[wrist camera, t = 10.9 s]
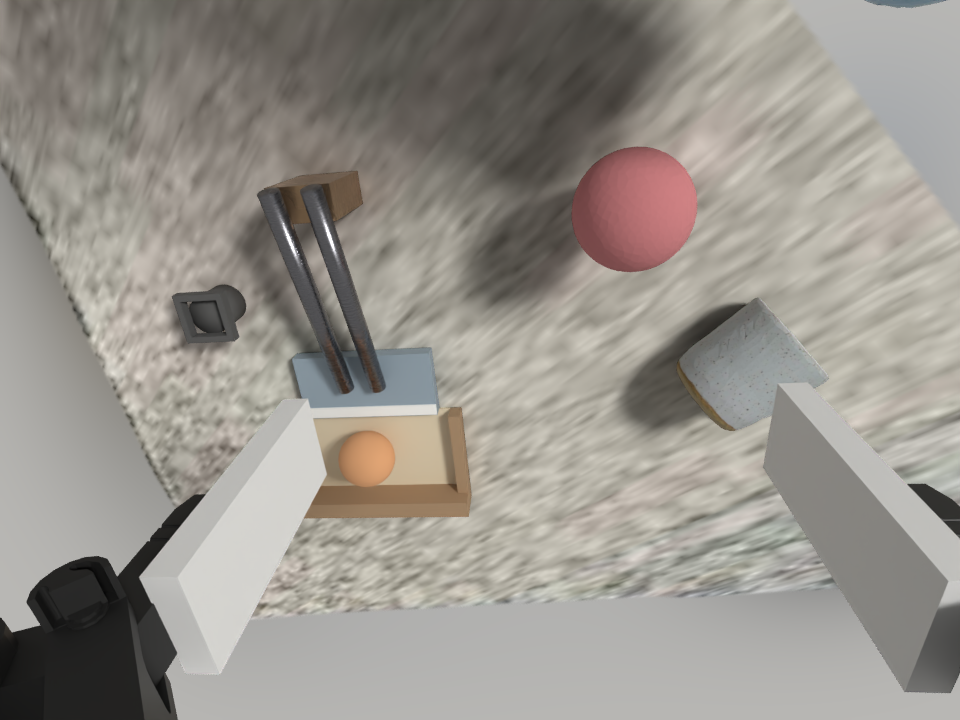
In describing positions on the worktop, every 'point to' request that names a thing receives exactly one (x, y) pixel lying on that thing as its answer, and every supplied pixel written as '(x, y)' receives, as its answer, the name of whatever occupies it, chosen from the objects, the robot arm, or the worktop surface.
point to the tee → (210, 314)
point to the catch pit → (398, 468)
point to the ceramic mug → (746, 367)
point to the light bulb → (634, 209)
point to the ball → (366, 458)
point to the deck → (402, 396)
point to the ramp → (320, 206)
